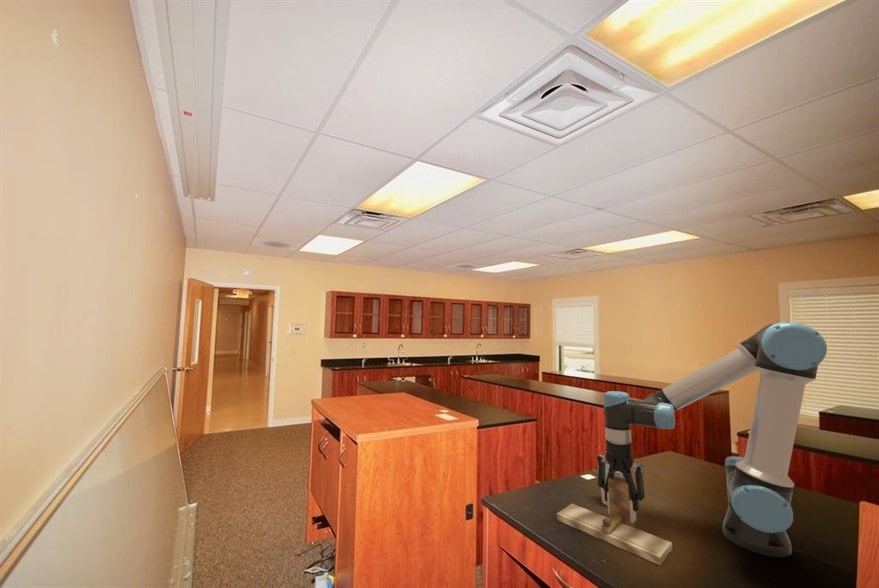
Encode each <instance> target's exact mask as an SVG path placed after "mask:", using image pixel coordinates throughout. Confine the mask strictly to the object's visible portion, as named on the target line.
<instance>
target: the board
mask: <svg viewBox="0 0 879 588" xmlns="http://www.w3.org/2000/svg"><path fill="white" fill-rule="evenodd" d="M605 518H606V519H609V520H610V517H607V516H605V515H602V514H600V513H597V512H595V511H593V510H589V509H587V508H585V507H582V506H579V505H577V504H574V503H571V504H569V505H567V506H566V507H564V508H562V509H561V510H560V511H558V512H557V513H556V521H558V522H560V523H563V524H564V525H567V526H570V527H571V528H574V529H577V530H579V531H580V532H583V533H585V534H588V535H589V536H592V537H595V538H596V539H599V540H601V541H603V542H606V543H608V544H610V545H611V546H612V545H613V546H615V547H616V548H619V549H621V550H624V551H626V552H629V553H631V554H632V555H633V554H634V556H637V557H640V558H641V559H644V560H647V561H649V562H651V563H653V564H656V565H658V566H661V565H662V563H664V562H665V560H666V558H667V557H668V556H669V555H670V553H671V552H672V551H673V542H672V541H670V540H667V539H664V538H661V537H658V536H657V535H654V534H652V533H648V532H646V531H643V530H641V529H638V528H636V527H635V528H633V527H631V526H628V525H626V524H623V523H621V524H620V525H619V526H617V527H616V528H615V529H614V530H613V531H612V532H611V533H609V534H607V533H605V532H603V531H602V525H603V519H605Z"/></svg>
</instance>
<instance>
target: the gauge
mask: <svg viewBox="0 0 879 588" xmlns="http://www.w3.org/2000/svg"><path fill="white" fill-rule="evenodd" d="M608 489H609V513H610V514H609V518H610V520H609V519H606V518H605V519H603V525H602V531H603V532H605V533H607V534H609V533H611V532H612V531H613V530H614V529H615V528H616V527H617V526H619V525H620V524H621V523H623V524H626V525H628V526H631V527H633V528H636V520H635V521H634V522H633V523H632V522H630V504H629V500H630V499H631V495H630V492H629V484H628V483H626V480H625V477H622V478H621V477H618V476H614V477H612V478H608Z"/></svg>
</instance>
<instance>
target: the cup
mask: <svg viewBox="0 0 879 588" xmlns="http://www.w3.org/2000/svg"><path fill="white" fill-rule="evenodd" d="M609 467H610V465H609V463H605V482H606V479H607V475H608V472H609V471H608V470H609ZM597 468H598V469H599V465H598V466H597ZM614 476H618V477H621V478H623V473H621V472H619V471H616V472H615V475H614ZM600 493H601V494H600V495H601V502H602V504H604V505H605V506H607V507H608V501H605V492H604V489H603V488H601V487H600Z"/></svg>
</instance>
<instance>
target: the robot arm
mask: <svg viewBox="0 0 879 588" xmlns="http://www.w3.org/2000/svg"><path fill="white" fill-rule="evenodd" d="M827 346H828V345H827V342H826V340H825V339H824V337H823V336H822V335H821V333H819V332H818V331H817V330H816V329H815V328H812V327H810V326H809V325H806V324H804V323H799V322H796V321H793V322H792V321H781V322H774V323H770V324H768V325H765V326H764V327H762V328H761V329H759V330H758V331H757V332H755V333H754V334H753V335H751V336H750V337H748V338H747V339H746V338H745V340H743V341H741V342H740V343H739V342H738V345H737V348H736V349H734V350H733V351H730V352H729V353H726V354H725V355H723V356H721V357H719V358H718V359H716V360H714V361H712V362H710V363H708V364H706V365H704V366H702V367H701V368H699V369H697V370H695V371H693V372H692V373H690V374H688V375H686V376H684V377H683V378H680V379H679V380H676V381H674V382H673V383H671V384H669V385H668V386H666V387H664V388H662V389H660V390H658V391H656V392H655V393H650V394H649V395H648V396H646V397H645V398H644V399H643V400H635V399H631V398H630V395H629V393H627V392H624V391H619V390H617V391H614V390H610V391H609V390H608V391H606V392H605V393H604V397H603V410H604V411H603V413H604V433H605V434H604V436H605V452H606V453H605V454H604V455H603V454H599V455H598V456H596V459H597V463H598V466H599V469H598V473H597V474H598V476H597V477H598V479H597V483H598V484H597V486H598V487H599V488H600V489H601V488H603V489H604V492H605V501H608V506H607V514H609V515H610V513H609V489H608V478H612V477H614V475H615V472H616V471H619V472H621V473H622V477H623V478H624V479H625V480H626V483H628V484H629V492H630V495H631V499H630V500H629V504H630V522H632V523H633V522H634V521H635V522H636V520H637V512H638V511H639V510H640V509H639V507H640V506H639V505H640V504H639V502H640V501H643V500H644V499H645V498H646V495H645V488H644V487H645V486H644V485H645V484H644V478H643V471H644V466H643V465H642V464H638V463H636V462H635V460H634V459H633V447H632V446H633V445H632V428H631V425H635V426H643V427H649V428H656V429H660V430H673V429H675V425H676V423H675V422H676V419H675V417H676V416H675V412H677V411H679V410H681V409H682V408H684V407H685V408H686V407H687V406H689V405H691V404H692V403H695V402H696V401H699V400H701V399H703V398H706V397H707V396H710V394H713V393H715V392H717V391H718V390H721V389H724V388H725V387H727V386H730V385H731V384H733V383H735V382H738V381H739V380H741V379H744V378H745V377H747V376H749V375H751V374H753V373H756V372H757V371H758V372H759V374H760V377H759V382H758V388H757V393H756V398H755V401H754V402H755V403H754V407H753V413H752V419H751V422H750V423H751V424H750V428H749V434H748V438H747V444H746V449H745V454H744V457H742V456H727V457H726V458H725V460H724V461H725V462H724V463H725V464H724V467H725V477H726V490H727V502H728V503H727V505H728V506H727V507H728V508H727V510H726V513H725V517H724V520H723V521H722V532H723V533H722V534H723V535H724V537H725V538H726V539H727V540H729V541H730V542H731V543H733V544H735V545H736V546H738V547H741V548H742V549H744V550H747V551H750V552H752V553H755V554H759V555H762V556H766V557H767V556H768V557H773V558H787V557H790V556H791V555H792V554H793V550H792V549H793V548H792V543H791V539H790V537H789V535H788V533H787V530H788V529H789V528H790V527H791V526H792V524H793V521H794V512H793V508H792V505H791V504H792V503H791V502H792V498H793V493H794V488H795V484H794V482H793V481H792V479H791V478H790V476H789V475H788V474H789V469H790V464H791V459H792V453H793V449H794V444H795V438H796V435H797V428H798V424H799V423H798V422H799V419H800V413H801V408H802V404H803V399H804V394H805V393H804V392H805V388H806V385H807V384H809V383H811V382H813V381H816V378H817V374H818V370H819V365H820V364H821V363H822V362H823V360H824V359H825V357H826V356H827V352H828V351H827V350H828V347H827ZM606 462H607V464H609V465H610V467H609V470H608V471H609V472H608V475H607V479H606V482H605V464H606ZM632 467H633V471H634V473H635V475H634V476H635V481H634V479H633V476H632V471H631V468H632ZM635 483H636V484H635Z"/></svg>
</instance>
